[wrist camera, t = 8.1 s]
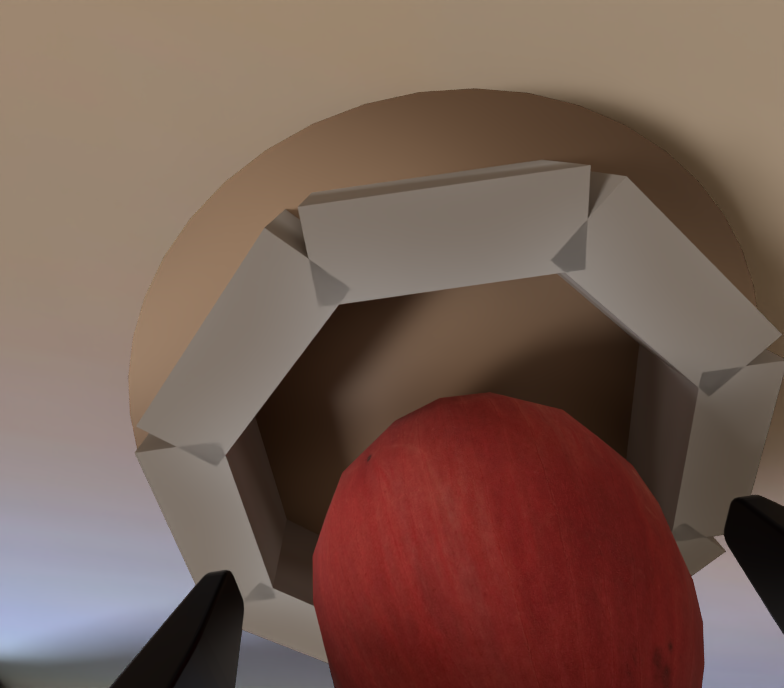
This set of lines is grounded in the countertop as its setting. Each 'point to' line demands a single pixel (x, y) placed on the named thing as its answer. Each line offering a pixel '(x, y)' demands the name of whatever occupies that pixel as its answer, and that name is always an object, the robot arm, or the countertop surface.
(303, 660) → the countertop surface
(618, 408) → the ring board
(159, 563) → the countertop surface
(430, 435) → the onion
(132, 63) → the countertop surface
